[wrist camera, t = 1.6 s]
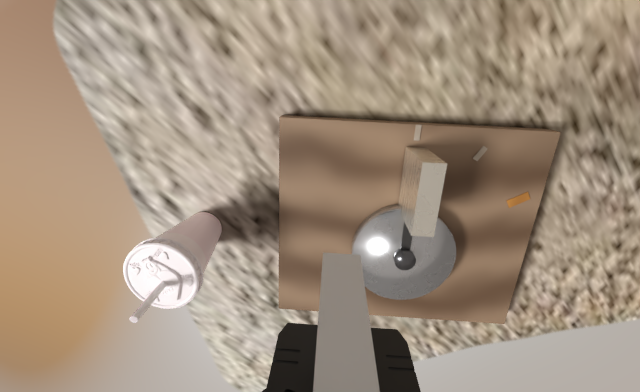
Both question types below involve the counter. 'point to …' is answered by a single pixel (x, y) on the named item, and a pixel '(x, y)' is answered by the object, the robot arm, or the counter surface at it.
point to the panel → (383, 190)
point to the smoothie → (172, 263)
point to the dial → (408, 234)
